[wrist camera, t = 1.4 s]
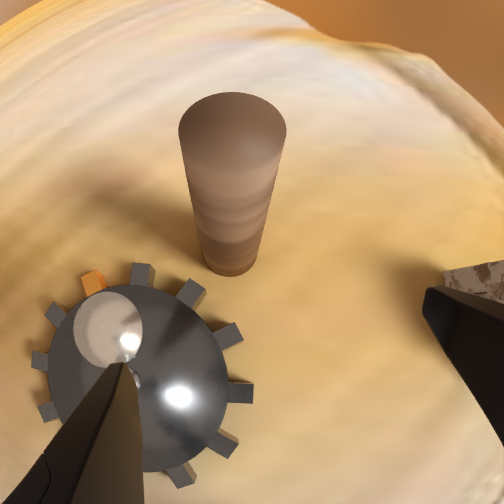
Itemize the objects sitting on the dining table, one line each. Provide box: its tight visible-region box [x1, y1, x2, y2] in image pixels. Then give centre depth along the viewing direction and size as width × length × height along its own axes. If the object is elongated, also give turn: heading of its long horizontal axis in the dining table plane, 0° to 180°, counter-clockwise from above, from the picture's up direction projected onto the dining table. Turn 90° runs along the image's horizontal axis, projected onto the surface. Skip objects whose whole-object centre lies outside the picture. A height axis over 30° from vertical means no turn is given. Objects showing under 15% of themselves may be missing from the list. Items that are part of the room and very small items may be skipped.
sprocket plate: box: [31, 263, 254, 489], centre depth 18 cm, size 16×16×2 cm
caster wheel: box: [443, 260, 504, 304], centre depth 20 cm, size 7×11×10 cm
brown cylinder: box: [178, 92, 286, 277], centre depth 17 cm, size 4×4×13 cm
